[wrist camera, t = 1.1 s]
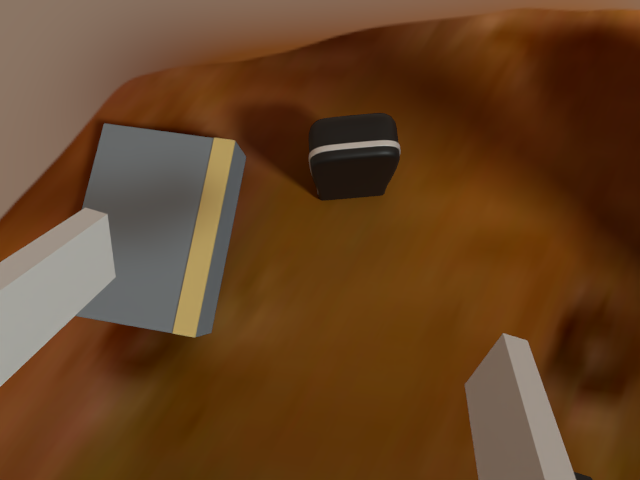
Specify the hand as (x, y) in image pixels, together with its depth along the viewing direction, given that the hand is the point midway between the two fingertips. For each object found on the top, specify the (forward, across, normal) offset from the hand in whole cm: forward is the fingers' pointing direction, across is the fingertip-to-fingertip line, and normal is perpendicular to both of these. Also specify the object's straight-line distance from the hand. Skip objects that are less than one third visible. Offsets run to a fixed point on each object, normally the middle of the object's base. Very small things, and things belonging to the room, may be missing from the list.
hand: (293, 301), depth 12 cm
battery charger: (+26, 0, -7) cm, 27 cm away
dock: (+20, -16, -15) cm, 30 cm away
